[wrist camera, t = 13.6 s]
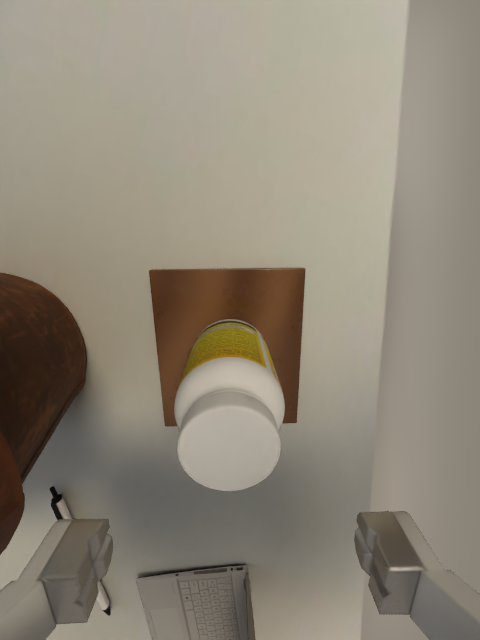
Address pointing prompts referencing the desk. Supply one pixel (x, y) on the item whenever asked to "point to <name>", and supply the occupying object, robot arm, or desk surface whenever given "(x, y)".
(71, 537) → the robot arm
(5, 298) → the case
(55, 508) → the pen
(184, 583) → the laptop
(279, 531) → the desk surface
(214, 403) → the pill bottle
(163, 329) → the brown wooden coaster
